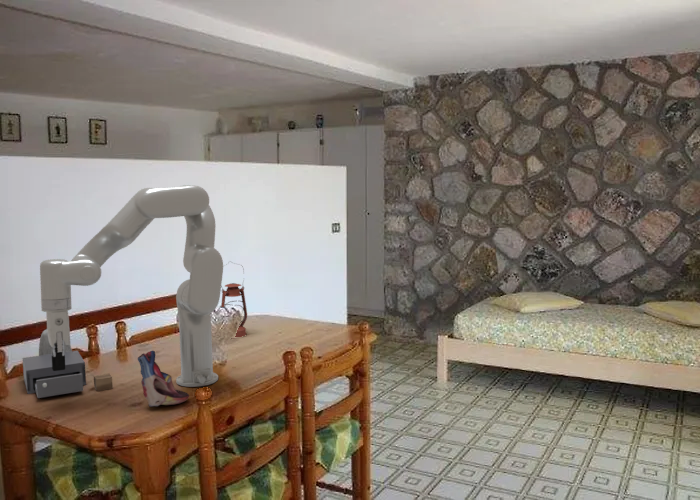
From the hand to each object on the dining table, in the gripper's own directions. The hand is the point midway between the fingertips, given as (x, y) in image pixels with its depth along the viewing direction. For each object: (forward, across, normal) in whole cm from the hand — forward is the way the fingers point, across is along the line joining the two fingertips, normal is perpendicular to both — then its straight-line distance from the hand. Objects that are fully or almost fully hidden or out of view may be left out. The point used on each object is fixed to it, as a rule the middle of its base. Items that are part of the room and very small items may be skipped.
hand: (58, 369), depth 178 cm
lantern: (+8, +50, -69) cm, 85 cm away
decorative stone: (+10, +40, -3) cm, 41 cm away
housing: (+10, +22, -1) cm, 25 cm away
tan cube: (+10, +8, -13) cm, 18 cm away
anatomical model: (+9, -16, -25) cm, 31 cm away
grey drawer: (+9, +13, -1) cm, 16 cm away
